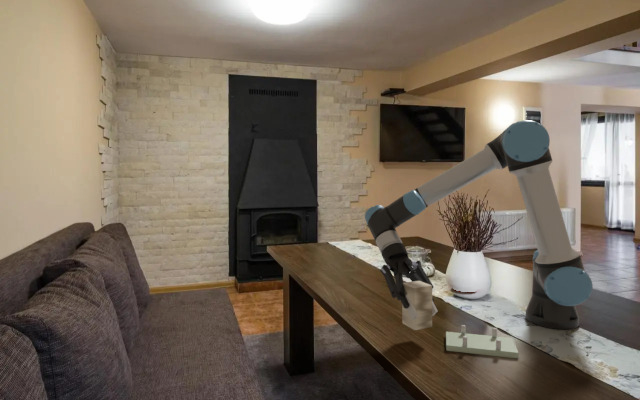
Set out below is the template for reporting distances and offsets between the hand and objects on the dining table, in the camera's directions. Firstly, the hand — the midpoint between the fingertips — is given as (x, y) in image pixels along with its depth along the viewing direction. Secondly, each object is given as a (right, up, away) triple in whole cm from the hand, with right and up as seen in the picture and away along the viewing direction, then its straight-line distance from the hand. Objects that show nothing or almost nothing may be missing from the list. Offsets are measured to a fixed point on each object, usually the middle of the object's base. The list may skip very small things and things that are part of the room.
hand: (425, 315), depth 117 cm
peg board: (+15, -8, -1) cm, 17 cm away
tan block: (-1, -4, +4) cm, 5 cm away
